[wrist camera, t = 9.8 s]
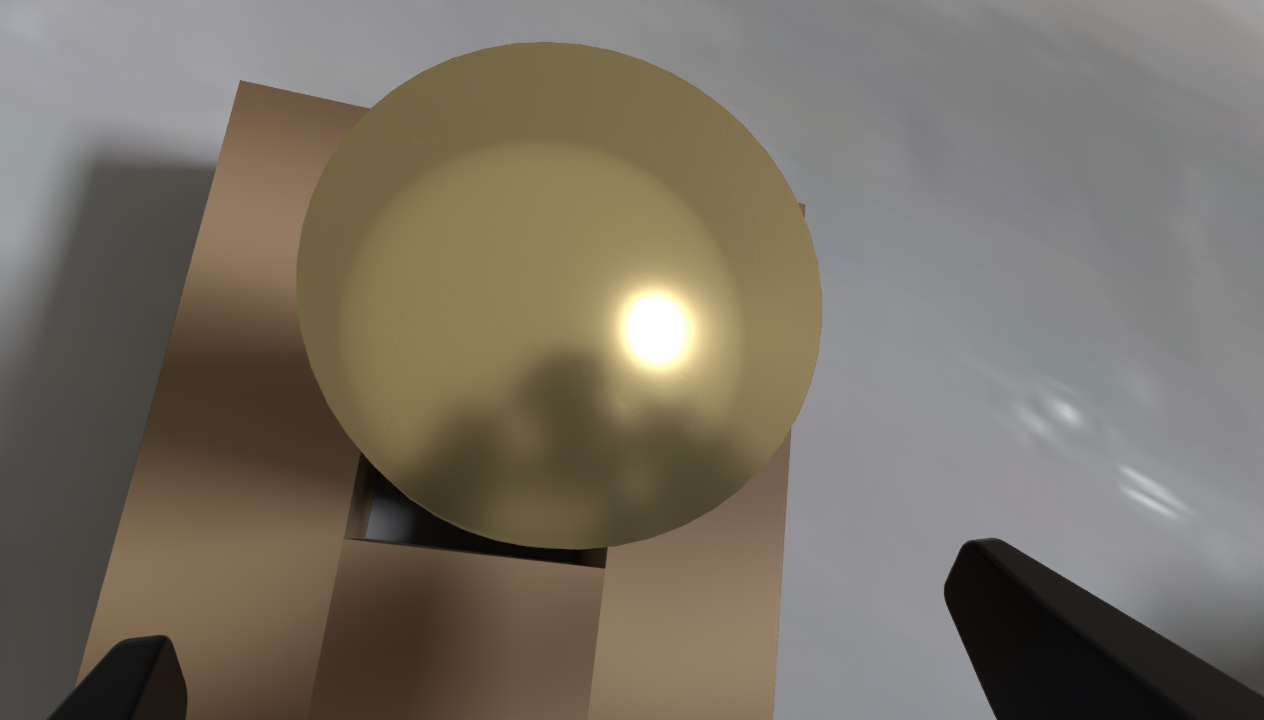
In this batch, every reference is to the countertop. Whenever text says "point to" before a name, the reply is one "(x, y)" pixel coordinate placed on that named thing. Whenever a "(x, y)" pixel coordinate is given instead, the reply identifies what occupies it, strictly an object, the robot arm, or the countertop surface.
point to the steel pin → (558, 296)
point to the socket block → (382, 570)
